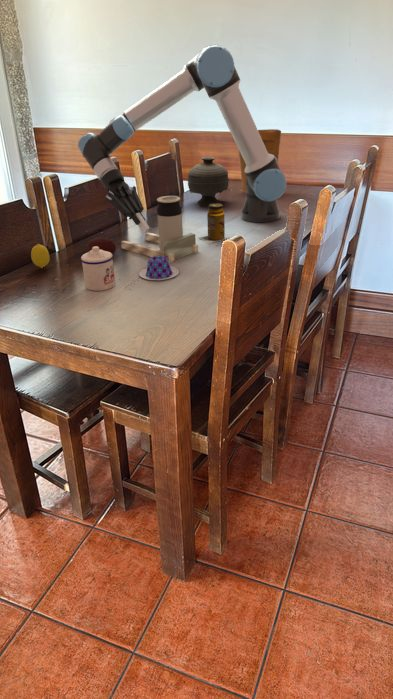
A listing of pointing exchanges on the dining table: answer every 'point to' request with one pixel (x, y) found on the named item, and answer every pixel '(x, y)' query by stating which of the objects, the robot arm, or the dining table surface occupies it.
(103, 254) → the teacup with lid
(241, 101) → the robot arm
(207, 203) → the pot
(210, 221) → the condiment
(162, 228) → the travel mug
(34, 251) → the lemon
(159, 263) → the pudding
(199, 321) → the dining table surface
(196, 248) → the rail channel
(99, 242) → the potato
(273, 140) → the pancake mix bag
